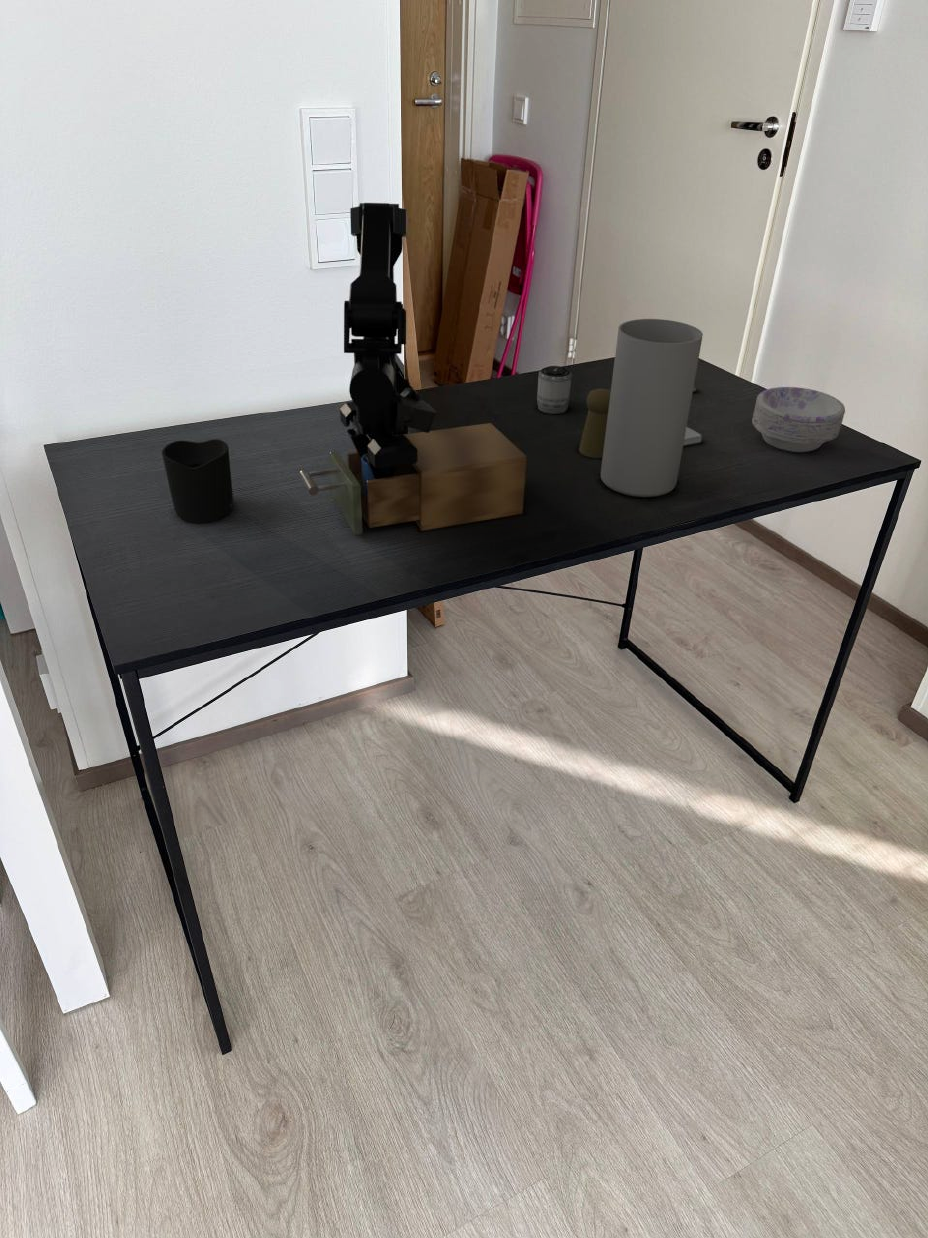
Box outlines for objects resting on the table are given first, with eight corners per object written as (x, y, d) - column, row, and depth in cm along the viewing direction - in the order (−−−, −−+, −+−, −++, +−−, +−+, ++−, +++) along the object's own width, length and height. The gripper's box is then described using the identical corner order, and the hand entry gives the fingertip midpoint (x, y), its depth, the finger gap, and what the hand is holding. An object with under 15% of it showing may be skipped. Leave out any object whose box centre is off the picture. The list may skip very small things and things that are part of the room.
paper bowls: (786, 465, 156) (797, 422, 152) (731, 432, 168) (739, 391, 163) (852, 452, 162) (865, 410, 157) (795, 421, 173) (805, 381, 169)
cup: (357, 496, 134) (355, 462, 131) (370, 482, 138) (369, 449, 135) (388, 501, 133) (387, 467, 129) (400, 487, 136) (399, 454, 133)
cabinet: (421, 531, 134) (421, 471, 128) (393, 492, 144) (391, 435, 138) (522, 513, 139) (526, 456, 133) (488, 477, 149) (490, 422, 144)
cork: (611, 459, 156) (619, 398, 150) (577, 456, 157) (583, 395, 151) (614, 446, 161) (621, 386, 155) (580, 442, 162) (586, 383, 156)
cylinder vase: (592, 490, 146) (610, 336, 132) (609, 461, 156) (627, 314, 142) (669, 504, 143) (696, 348, 129) (681, 473, 152) (707, 324, 138)
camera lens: (570, 404, 178) (574, 365, 173) (566, 416, 172) (569, 376, 168) (538, 401, 179) (541, 362, 174) (533, 412, 174) (536, 372, 169)
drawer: (317, 541, 128) (313, 491, 124) (297, 503, 138) (293, 456, 133) (454, 518, 135) (455, 470, 131) (425, 483, 145) (425, 438, 140)
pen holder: (204, 531, 132) (194, 468, 126) (159, 514, 136) (148, 452, 130) (249, 506, 138) (241, 446, 133) (205, 491, 142) (196, 431, 137)
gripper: (453, 401, 121) (451, 505, 130) (408, 358, 135) (409, 454, 144) (374, 411, 118) (377, 517, 126) (336, 365, 132) (342, 463, 141)
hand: (378, 486), depth 135 cm, fingers closed on cup, 5 cm apart
